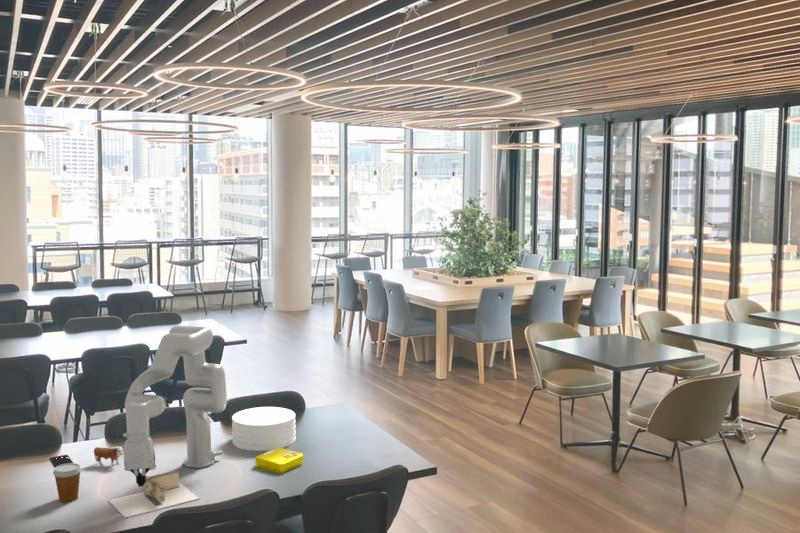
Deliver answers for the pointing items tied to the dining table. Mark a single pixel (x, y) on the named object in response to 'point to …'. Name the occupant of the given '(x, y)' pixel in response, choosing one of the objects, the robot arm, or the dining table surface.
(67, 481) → the disposable coffee cup
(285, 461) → the element tile
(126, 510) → the card
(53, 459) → the smartphone
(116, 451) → the bull figurine
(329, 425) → the dining table surface
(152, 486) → the fence panel
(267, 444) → the plate stack
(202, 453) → the robot arm
